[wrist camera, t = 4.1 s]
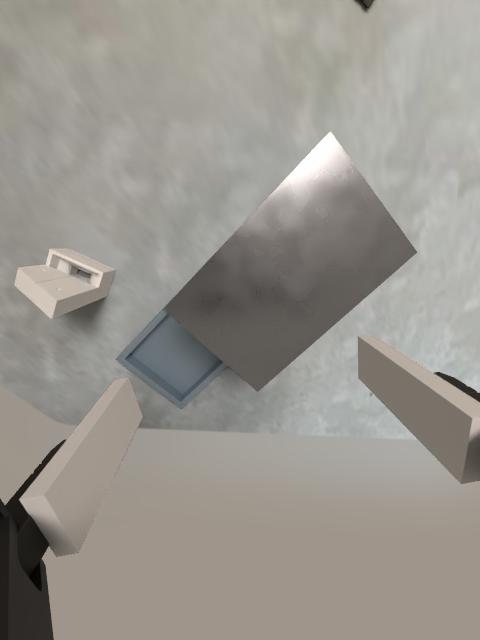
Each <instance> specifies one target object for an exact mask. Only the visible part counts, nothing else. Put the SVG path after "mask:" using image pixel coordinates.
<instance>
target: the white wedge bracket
mask: <svg viewBox="0 0 480 640" xmlns="http://www.w3.org/2000/svg"><path fill="white" fill-rule="evenodd" d="M78 269H80V270H82V271H85V272H87V273H89V274H91V277H90V279H88V278H86V277H84V276H82V275H79V274H77V272H78ZM115 271H116V270H115V269H113V268H111V267H108V266H106V265H104V264H102V263H100V262H97V261H95V260H93V259H91V258H88V257H86V256H84V255H82V254H79V253H77V252H75V251H73V250H71V249H50V251H49V254H48V258H47V262H46V265H38V266H29V267H19V268H18V271H17V276H16V280H15V284H14V285H15V286H16V287H17V288H18V289H19V290H20V291H21V292H22V293H24V294H25V295H26V296H27V297H28V298H29V299H30V300H31V301H32V302H33V303H34V304H36V305H37V306H38V307H39V308H40V309H41V310H42V311H43V312H44V313H45V314H46V315H47V316H49V317H50V318H51V319H54V318H56V317H59V316H61V315H63V314H66V313H68V312H71V311H73V310H75V309H78V308H80V307H82V306H85V305H87V304H90V303H92V302H94V301H97V300H99V299H102V298H104V297H106V296H107V295H108V292H109V289H110V286H111V283H112V280H113V277H114V274H115Z"/></svg>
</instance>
